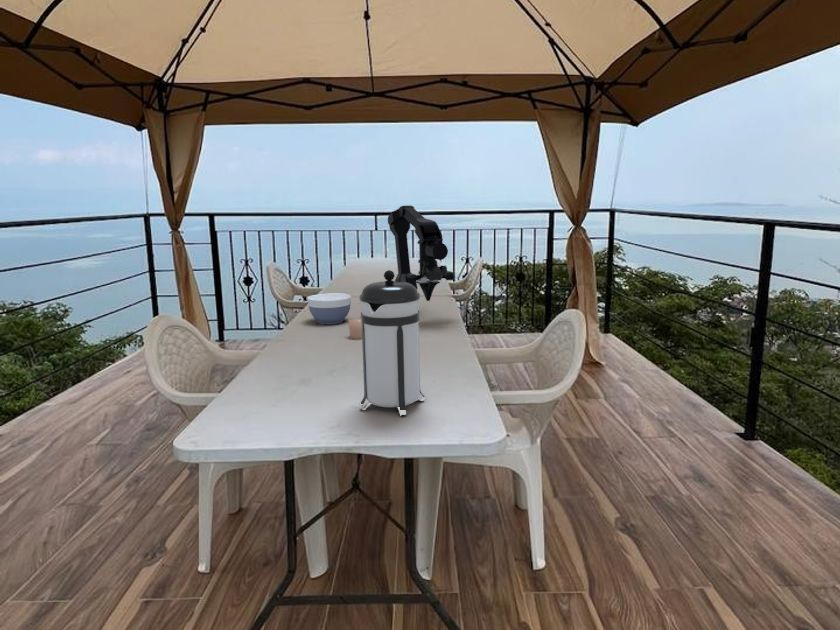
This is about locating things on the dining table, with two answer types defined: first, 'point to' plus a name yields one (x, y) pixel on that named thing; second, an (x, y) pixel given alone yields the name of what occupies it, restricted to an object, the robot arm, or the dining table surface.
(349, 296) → the bowl
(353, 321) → the tan block
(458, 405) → the dining table surface
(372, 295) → the coffee press
